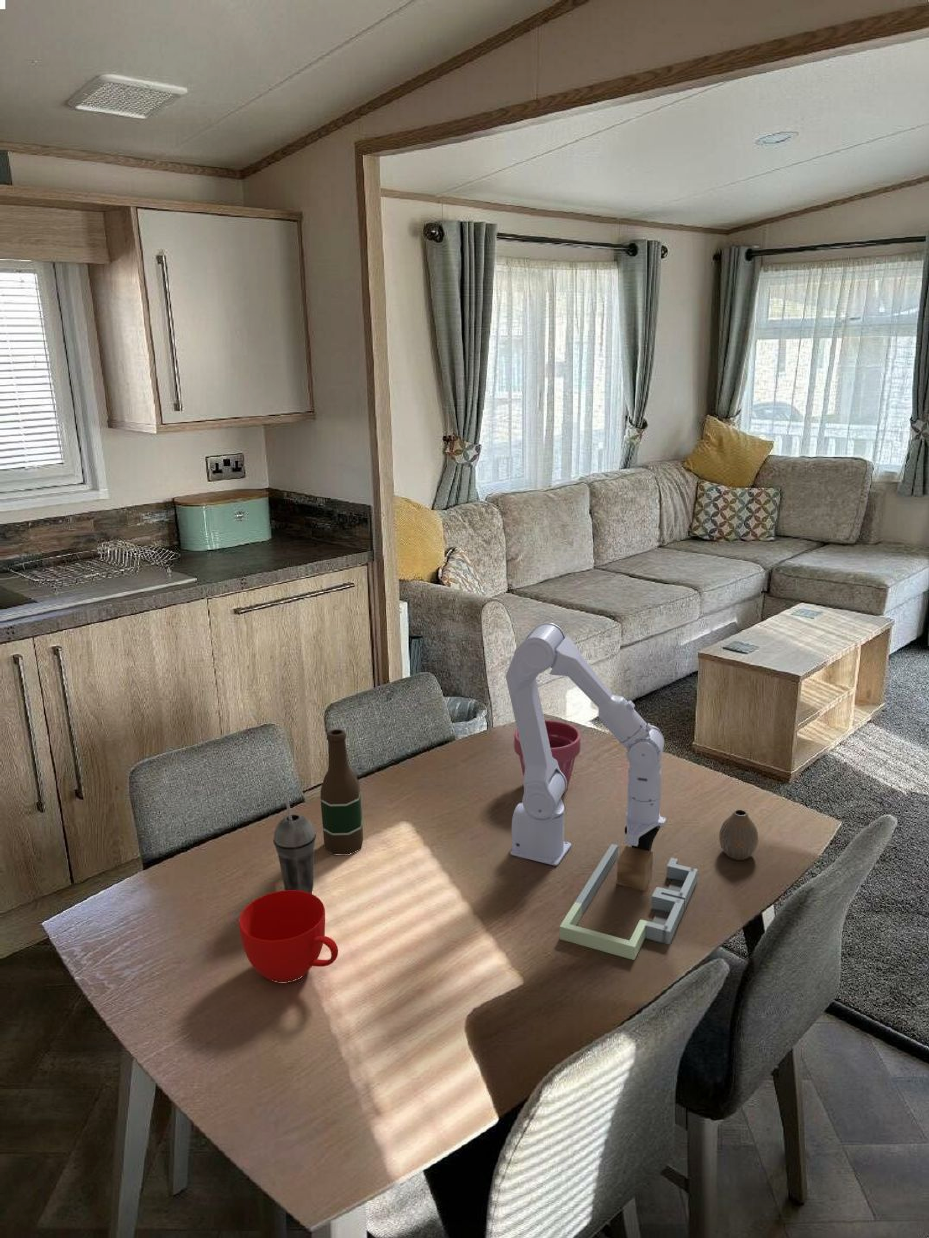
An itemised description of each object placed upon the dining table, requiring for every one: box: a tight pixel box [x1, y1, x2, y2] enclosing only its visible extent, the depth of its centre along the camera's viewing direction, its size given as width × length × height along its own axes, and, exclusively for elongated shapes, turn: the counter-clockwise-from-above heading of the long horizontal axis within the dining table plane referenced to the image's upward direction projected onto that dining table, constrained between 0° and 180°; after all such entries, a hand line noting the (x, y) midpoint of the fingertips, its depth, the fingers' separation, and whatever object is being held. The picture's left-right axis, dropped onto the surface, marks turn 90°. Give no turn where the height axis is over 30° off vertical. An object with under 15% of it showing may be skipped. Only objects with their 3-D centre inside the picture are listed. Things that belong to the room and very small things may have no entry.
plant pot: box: [513, 719, 582, 794], centre depth 194 cm, size 14×14×13 cm
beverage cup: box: [272, 796, 317, 894], centre depth 156 cm, size 7×7×20 cm
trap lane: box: [559, 843, 699, 961], centre depth 154 cm, size 16×27×2 cm, turn 153°
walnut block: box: [616, 845, 654, 891], centre depth 161 cm, size 5×5×5 cm
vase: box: [718, 808, 759, 861], centre depth 167 cm, size 7×7×9 cm
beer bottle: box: [320, 728, 364, 855], centre depth 171 cm, size 8×8×24 cm
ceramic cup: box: [238, 889, 339, 982], centre depth 138 cm, size 13×17×10 cm
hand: (641, 860), depth 165 cm, fingers closed
